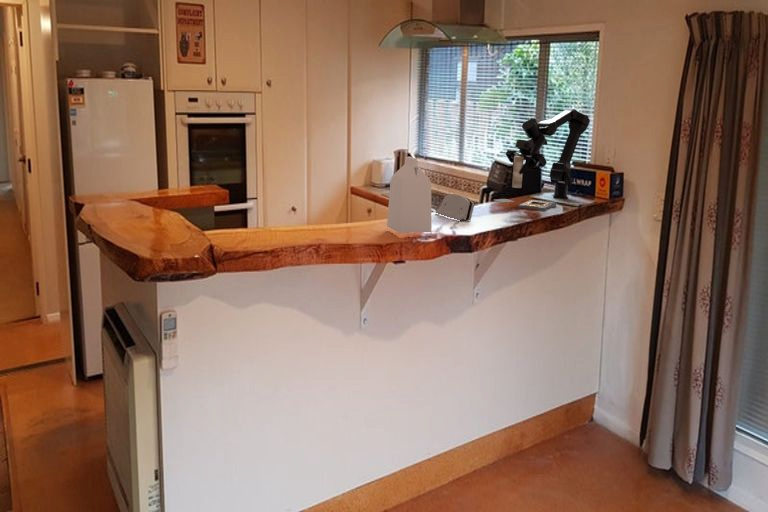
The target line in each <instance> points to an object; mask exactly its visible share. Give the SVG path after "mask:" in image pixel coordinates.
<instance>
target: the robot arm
mask: <svg viewBox="0 0 768 512" xmlns="http://www.w3.org/2000/svg"><path fill="white" fill-rule="evenodd" d="M590 122H591V120H590V118H589V116H588V115H587V114H584V113H582V112H580V111H578V110H577V109H576V108H566V109H564V110H563V111H562V112H560V113H559V114H557V115H555V116H553V117H552V118H550V119H546V120H541V121H539V122H537V120H536V118H535V117H531V118H530V119H528V120H526V121H525V122H523V123H522V125H521V128H522V129H523V132H524V133H525V135H526V137H527V138H528V140H526V139H517V140H516V143H515V145H514V147H515V148H517V149H518V152H517V150H513V149H508V150H507V151H506V152H505V154H504V155H505V156H506V157H507V159H508V161H509V162H510V163H512V166H511V171H510V172H511V174H513V167H514V156H522V157H524V162H523V167H522V168H521V170H520V172H519V174H522V173H523V174H524V173H525V172H528V171H531V170H532V169H534V168H537V167H542V168H545V167H546V166H547V160H546V158H545V156H544V154H543V153H541V152H540V149H542V147H543V145H545V146H548V139H547V138H546V137H552V136H553V135H554V134H555V133H556V132H557V131H558V130H557V129H558V128H560V127H561V126H563V125H564V124H566V123H568V128H569V133H568V136H567V138H566V141H565V143H564V146H563V148H562V149H563V150H562V151H561V154H560V157H559V160H557V162H553V163H552V165H551V168H550V170H549V171H550V172H549V179H550V183H551V184H554V193H553V194H552V197H553V198H554V197H555V198H554V199H569V197H568V187H569V186H572V185H573V183H574V179H573V177H572V175H571V171H572V170H571V169H572V168H571V166H570V164H571V162H572V159H573V155H574V153H575V151H576V148H577V145H578V142H579V139H580V138H581V135H582V134H584V133H585V132H586V131H587V128H588V127H589V125H590Z"/></svg>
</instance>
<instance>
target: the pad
mask: <svg viewBox="0 0 768 512" xmlns="http://www.w3.org/2000/svg"><path fill="white" fill-rule="evenodd" d="M494 201H495V202H499V203H513V202H516V201H514V200H511V199H507V198H499V199H498V198H497V199H494Z"/></svg>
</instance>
